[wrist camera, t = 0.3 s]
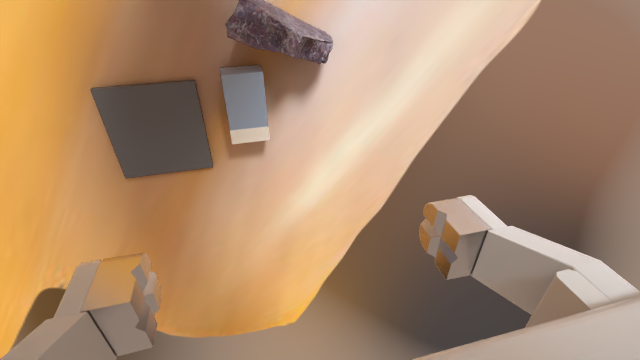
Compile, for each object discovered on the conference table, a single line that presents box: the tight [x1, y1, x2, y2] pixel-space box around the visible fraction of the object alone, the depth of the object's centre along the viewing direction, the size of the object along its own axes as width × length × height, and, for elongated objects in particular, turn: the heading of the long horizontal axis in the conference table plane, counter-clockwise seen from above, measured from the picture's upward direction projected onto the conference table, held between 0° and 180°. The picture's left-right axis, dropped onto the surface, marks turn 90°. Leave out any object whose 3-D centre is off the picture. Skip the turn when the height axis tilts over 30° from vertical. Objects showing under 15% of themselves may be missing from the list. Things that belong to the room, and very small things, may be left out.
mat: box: [91, 80, 213, 178], centre depth 53 cm, size 15×14×1 cm
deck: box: [220, 65, 270, 144], centre depth 53 cm, size 11×6×4 cm, turn 2°
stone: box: [225, 0, 333, 64], centre depth 46 cm, size 10×6×15 cm
